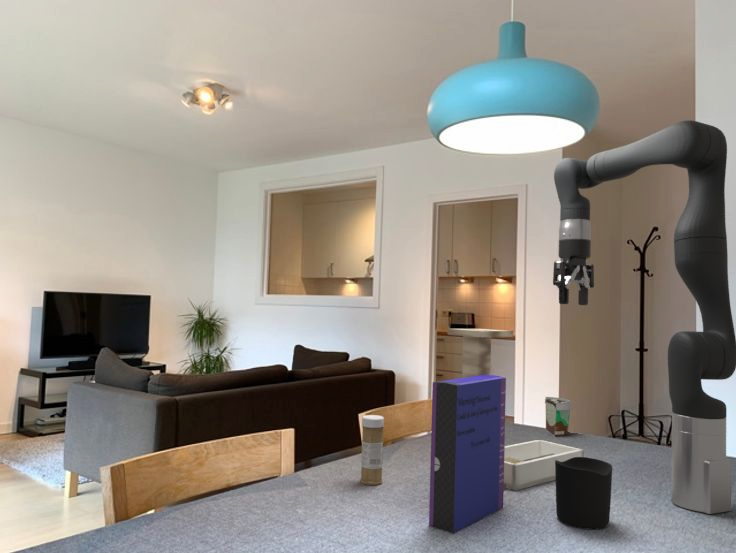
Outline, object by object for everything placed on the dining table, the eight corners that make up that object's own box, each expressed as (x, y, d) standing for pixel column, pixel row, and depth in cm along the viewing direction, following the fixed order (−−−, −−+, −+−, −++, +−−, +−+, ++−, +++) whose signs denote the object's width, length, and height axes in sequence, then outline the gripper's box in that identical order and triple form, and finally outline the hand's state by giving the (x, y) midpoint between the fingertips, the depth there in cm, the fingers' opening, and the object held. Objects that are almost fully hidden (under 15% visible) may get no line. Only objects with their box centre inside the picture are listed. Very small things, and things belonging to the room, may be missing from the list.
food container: (577, 439, 172) (578, 403, 172) (556, 438, 172) (556, 403, 172) (564, 430, 184) (565, 397, 184) (544, 429, 184) (545, 396, 185)
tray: (538, 460, 146) (539, 439, 146) (583, 472, 136) (583, 449, 137) (469, 476, 130) (470, 453, 130) (515, 490, 121) (515, 465, 121)
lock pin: (546, 461, 141) (547, 448, 141) (566, 466, 137) (566, 453, 137) (500, 473, 129) (500, 459, 130) (519, 478, 126) (519, 464, 126)
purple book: (480, 501, 113) (483, 374, 114) (503, 507, 110) (505, 376, 111) (428, 526, 100) (432, 381, 101) (453, 533, 97) (457, 384, 98)
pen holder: (617, 533, 99) (617, 472, 100) (558, 528, 101) (559, 467, 101) (605, 514, 108) (605, 458, 109) (551, 509, 110) (552, 454, 110)
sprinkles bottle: (381, 479, 126) (383, 414, 126) (382, 486, 121) (384, 418, 122) (359, 479, 125) (361, 414, 126) (360, 485, 121) (362, 418, 121)
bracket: (476, 477, 129) (479, 328, 130) (510, 488, 122) (513, 331, 123) (442, 485, 122) (446, 328, 124) (475, 497, 115) (479, 331, 117)
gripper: (572, 235, 141) (570, 304, 140) (604, 240, 150) (603, 305, 149) (544, 237, 147) (543, 303, 146) (577, 242, 156) (576, 305, 155)
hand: (573, 304), depth 148 cm, fingers open, 8 cm apart
